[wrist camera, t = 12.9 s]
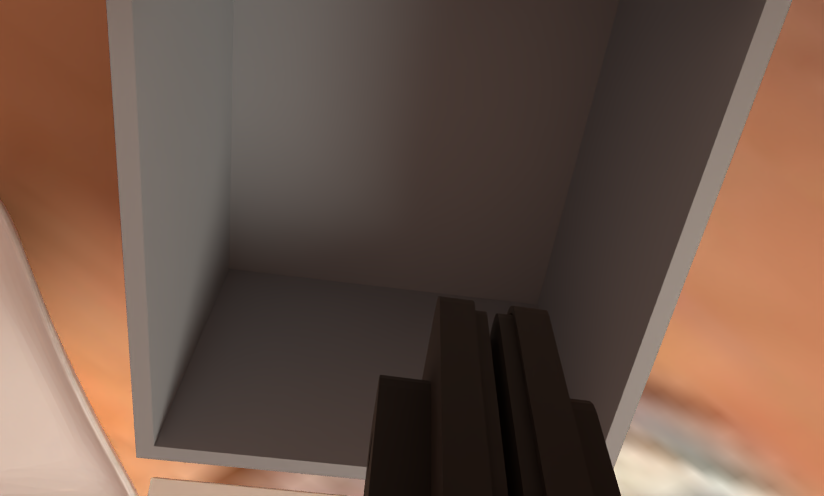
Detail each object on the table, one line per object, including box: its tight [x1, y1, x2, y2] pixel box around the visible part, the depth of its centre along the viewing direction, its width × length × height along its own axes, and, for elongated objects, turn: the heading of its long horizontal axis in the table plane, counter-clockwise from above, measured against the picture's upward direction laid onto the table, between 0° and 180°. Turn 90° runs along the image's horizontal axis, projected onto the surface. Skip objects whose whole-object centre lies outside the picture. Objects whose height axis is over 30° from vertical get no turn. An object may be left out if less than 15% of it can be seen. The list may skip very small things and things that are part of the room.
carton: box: [106, 0, 792, 480], centre depth 26 cm, size 16×18×12 cm
